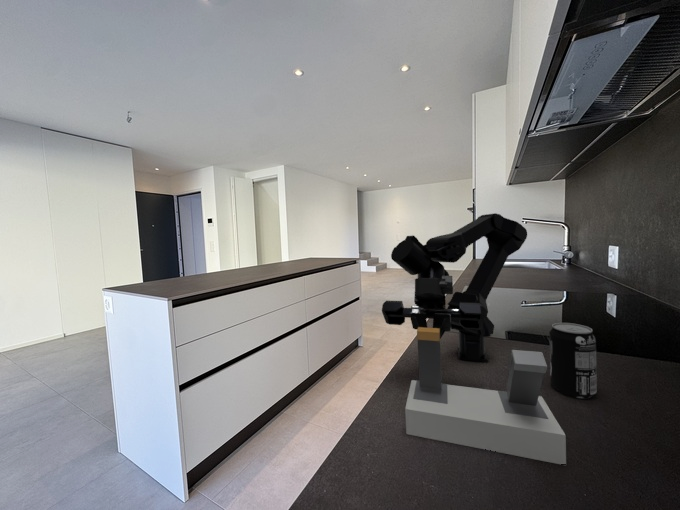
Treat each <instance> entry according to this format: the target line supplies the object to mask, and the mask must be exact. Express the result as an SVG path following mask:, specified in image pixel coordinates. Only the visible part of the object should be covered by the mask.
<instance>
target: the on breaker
mask: <svg viewBox="0 0 680 510" xmlns="http://www.w3.org/2000/svg"><path fill="white" fill-rule="evenodd" d="M510 357H511V359H510V364H509V373H508V380H507V385H506V392H507V397H508V401H509V402H511V403H519V404H526V405H533V406H536V405H537V401H538V397H539V396H540V392H541V388H542V383H543V380H544V376H545V374H546V373H547V368H548V365H547V362H546V359H545V357H544V354H543V352H542V351H535V350H534V351H533V350H520V349H519V350H518V349H517V350H516V349H511V355H510Z"/></svg>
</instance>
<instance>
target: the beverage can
mask: <svg viewBox="0 0 680 510" xmlns="http://www.w3.org/2000/svg"><path fill="white" fill-rule="evenodd" d="M593 332H594V331H593V328H591V327H589V326H587V325H582V324H578V323H573V322H572V323H571V322H556V323H552V325H551V330H550V331H549V335H548V336H549V365H550V366H549V369H550V370H549V372H550V373H549V375H550V376H549V377H550V384H551V385H552V386H553V387H554V388H555V390H557V391H558V392H559V393H562V394H564V395H565V396H569V397H573V398H575V399H576V398H577V399H591V398H592V397H593V396H595V395H596V394H597V393H598V392H597V391H598V390H597V389H598V382H597V378H598V375H597V374H598V373H597V338H596V336H595V335H594V333H593Z"/></svg>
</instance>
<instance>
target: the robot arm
mask: <svg viewBox="0 0 680 510" xmlns="http://www.w3.org/2000/svg"><path fill="white" fill-rule="evenodd" d="M482 238H485V239H486V242H487V245H488V249H487V250H486V253H485V255H484V256H483V258H482V261H481V262H480V264H479V265H478V267H477V270H476V271H475V274H474V275H473V277H472V279H471V281H470V282H469V284H468V286H467V288H466V289H465V290H464V291H462V292H461V291H460V292H459V291H455V292H454V289H453V288H454V287H453V286H454V285H453V282H454V281H453V276H452V275H450V274H449V272H448V271H447V270H446V269H445V266H444V265H443V264H442V263H453V264H454V263H456V262H458V261H459V260H461V258H462V257H463V256H464V255H465V254H466V253H467V248H468V247H469V246H471V245H472V244H474V243H476V242H477V241H479V240H480V239H482ZM527 239H528V231H527V229H526V228H525V226H523V225H522V224H521V223H519V222H518V221H515V220H513V219H510V218H506V217H504V216H502V215H501V214H500V213H489V214H482V215H480V216H478V217H477V218H476V219H474V220H473V221H471V222H469V223H467V224H466V225H464V226H462V227H460V228H458V229H457V230H455V231H453V232H451V233H447V234H442V235H438V236H435V237H431V238H429V239H428V240H427V241H426V243H425V244H422V243H421V242H420V241H419V239H418V238H417V237H416V236H415V235H407V236H405V239H404V240H402V241H401V242H399V243H398V244H397V245H396V246H394V248H393V249H392V251H391V254H390V258H391V260H392V261H393V262H394V263H396V264H397V265H398V266H399V267H400V268H402V269H403V270H405V272H407V274H409V275H410V276H417V277H416V278H415V279H414V297H413V298H414V305H411V306H410V307H404V302H403V300H385V301H384V302H383V303H382V308H381V313H382V315H383V318H384V320H385V323H386V324H388V325H390V326H391V325H395V326H402V325H403V324H405V322H406V318H409V319H410V321H411V326H412V327H411V328H412V329H414V330H417V329H418V327H423V328H429V327H428V322H427V319H430V320H431V319H432V328H440V340H441V339H442V337H443V336H444V334H445V333H446V332H450V331H451V329H452V330H456V331H458V344H459V347H457V348H456V350H457V356H458V359H459V360H464V361H475V362H486V363H488V362H489V358H488V355H487V351H486V349H485V348H486V347H485V338H490V337H491V335H493V334H494V330H495V325H494V323H493V322H492V321H491V320H490V318H489V317H488V314H489V310H488V305H487V299H488V297H489V295H490V293H491V291H492V289H493V286H494V285H495V283H496V281H497V279H498V278H499V275H500V273H501V271H502V269H503V267H504V265H505V263H506V262H507V259H508V258H509V256H511V255H513V254H514V253H515V252H518V251H519V250H520V249H521V248H522V246H523V245H524V243H525V242H526V240H527ZM446 295H452V296H451V299H450V300H449V302H448V303H447V305H448V307H446Z"/></svg>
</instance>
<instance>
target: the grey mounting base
mask: <svg viewBox="0 0 680 510" xmlns="http://www.w3.org/2000/svg"><path fill="white" fill-rule="evenodd" d="M404 409H405V411H404V412H405V414H404V415H405V431H406V432H405V434H406V435H409V436H414V437H420V438H425V439H429V440H434V441H438V442H439V441H440V442H446V443H450V444H455V445H460V446H465V447H471V448H476V449H481V450H485V449H486V451H490V450H491V452H495V451H496V452H495V453H500V454H507V455H509V456H517V457H520V458H526V459H531V460H536V461H539V462H540V461H542V462H546V463H547V462H548V463H552V464H557V465H561V464H566V465H567V445H566V444H567V442H566V440H567V437H566V434H565V431H564V430H563V428H562V427H561V426H560V424H559V422H558V421H557V419H556V417H555V415H554V414H553V412H552V411H551V410H550V409H551V408H549V406H548V404H547V402H546V400H545V399H544V398H543V396H542V395H539V397H538V401H537V405H536V406H533V405H526V404H519V403H511V402H509V401H508V397H507V390H506V391H504V390H493V389H485V388H480V387H479V388H477V387H471V386H470V387H469V386H462V385H453V384H447V383H442V390H436V389H429V388H422V387H420V385H419V379H417V380H415V379H411V382H410V386H409V391H408V394H407V399H406V404H405V408H404Z"/></svg>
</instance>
